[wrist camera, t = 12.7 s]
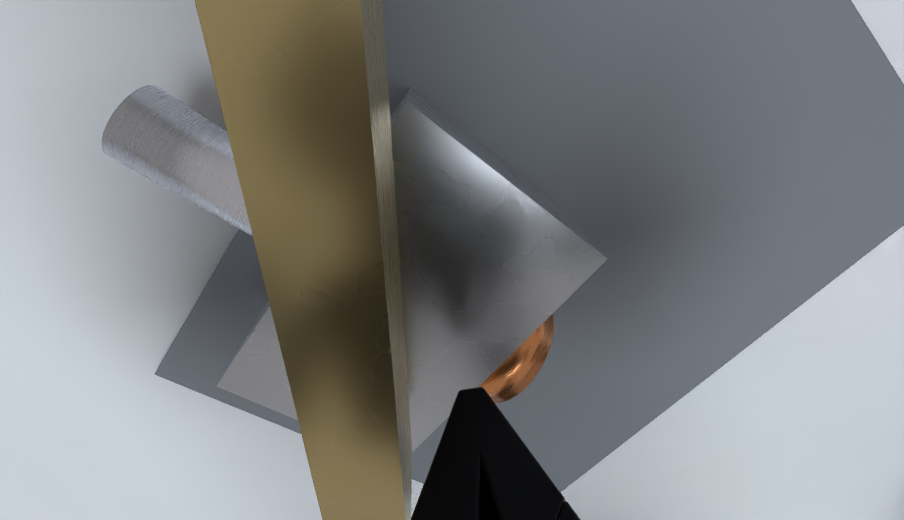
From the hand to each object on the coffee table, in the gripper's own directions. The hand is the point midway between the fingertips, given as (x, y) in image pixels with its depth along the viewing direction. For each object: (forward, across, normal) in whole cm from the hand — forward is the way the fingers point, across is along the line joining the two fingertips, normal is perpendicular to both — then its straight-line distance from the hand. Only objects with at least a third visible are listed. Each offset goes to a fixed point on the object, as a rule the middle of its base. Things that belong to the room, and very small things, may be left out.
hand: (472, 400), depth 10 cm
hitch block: (+6, +2, -1) cm, 6 cm away
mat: (+6, -3, +1) cm, 7 cm away
